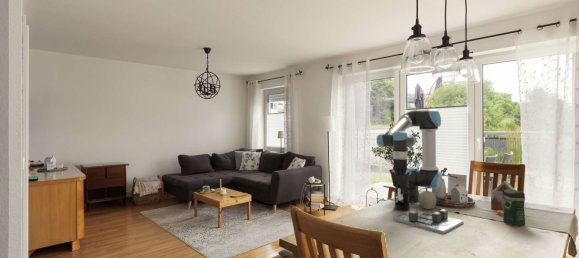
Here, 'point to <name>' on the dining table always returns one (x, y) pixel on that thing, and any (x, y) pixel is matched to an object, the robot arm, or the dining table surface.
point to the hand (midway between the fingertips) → (400, 199)
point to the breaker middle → (436, 217)
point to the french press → (402, 205)
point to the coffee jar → (514, 207)
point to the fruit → (427, 199)
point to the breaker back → (444, 214)
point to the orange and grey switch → (413, 216)
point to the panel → (430, 222)
